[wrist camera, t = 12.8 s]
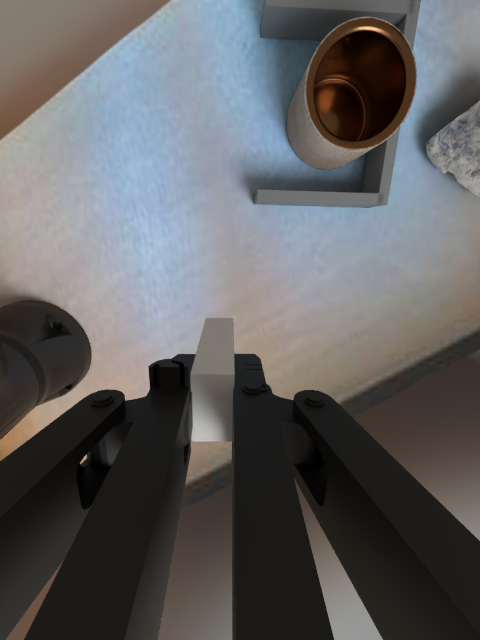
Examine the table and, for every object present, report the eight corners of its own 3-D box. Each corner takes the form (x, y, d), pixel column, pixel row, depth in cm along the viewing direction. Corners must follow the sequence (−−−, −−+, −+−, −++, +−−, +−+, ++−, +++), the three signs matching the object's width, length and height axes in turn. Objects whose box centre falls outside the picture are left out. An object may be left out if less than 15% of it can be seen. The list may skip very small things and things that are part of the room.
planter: (353, 51, 34) (397, -14, 25) (383, 144, 37) (432, 116, 28) (270, 100, 35) (284, 55, 26) (306, 186, 38) (329, 173, 29)
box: (253, 204, 39) (257, 200, 34) (260, 24, 33) (265, -10, 28) (368, 207, 39) (387, 204, 35) (394, 31, 34) (421, -1, 29)
